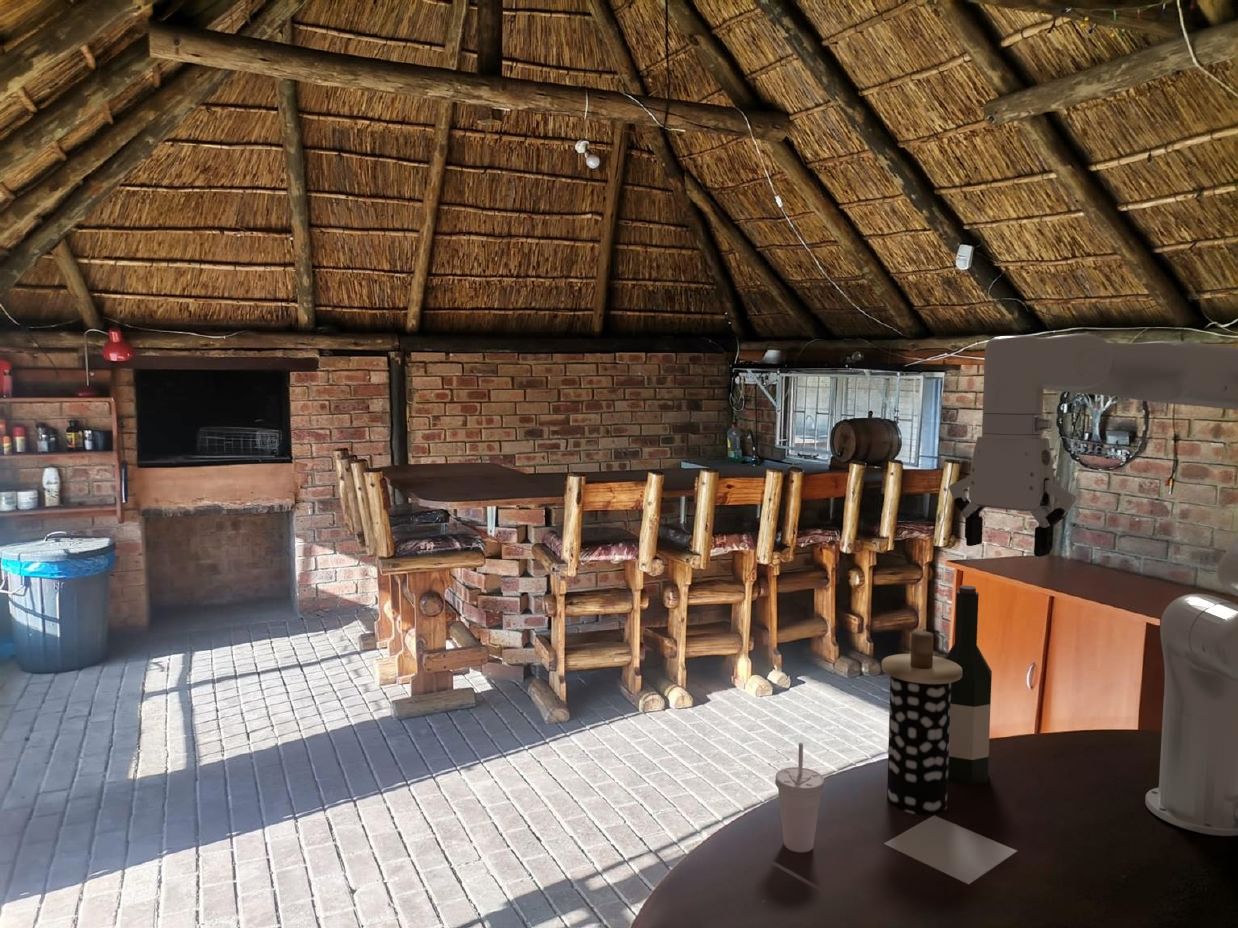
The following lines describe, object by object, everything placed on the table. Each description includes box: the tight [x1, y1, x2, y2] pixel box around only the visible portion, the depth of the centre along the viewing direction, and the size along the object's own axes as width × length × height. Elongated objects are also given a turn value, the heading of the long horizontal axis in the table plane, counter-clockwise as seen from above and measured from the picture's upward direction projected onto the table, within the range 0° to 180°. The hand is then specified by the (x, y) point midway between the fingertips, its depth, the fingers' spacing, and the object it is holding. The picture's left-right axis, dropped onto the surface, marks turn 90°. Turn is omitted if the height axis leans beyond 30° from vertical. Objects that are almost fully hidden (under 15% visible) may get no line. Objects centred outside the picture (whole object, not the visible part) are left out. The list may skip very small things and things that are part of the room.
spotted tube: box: [886, 675, 951, 816], centre depth 126 cm, size 8×8×20 cm
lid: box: [881, 630, 962, 684], centre depth 124 cm, size 11×11×6 cm
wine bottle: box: [943, 585, 993, 785], centre depth 135 cm, size 8×8×30 cm
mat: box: [883, 815, 1018, 885], centre depth 114 cm, size 12×12×1 cm
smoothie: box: [774, 742, 825, 853], centre depth 114 cm, size 6×6×14 cm
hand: (1006, 549), depth 120 cm, fingers open, 9 cm apart
